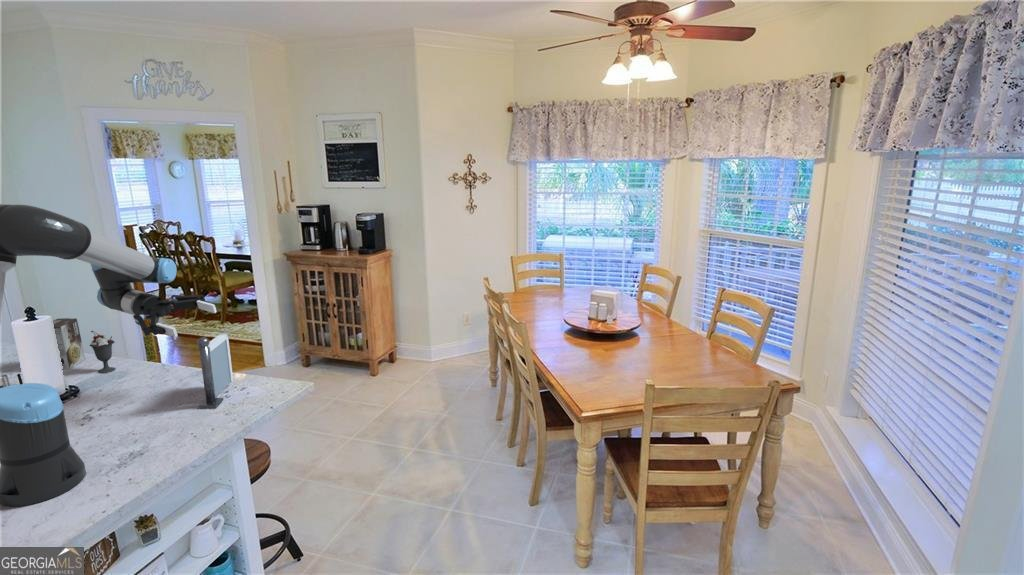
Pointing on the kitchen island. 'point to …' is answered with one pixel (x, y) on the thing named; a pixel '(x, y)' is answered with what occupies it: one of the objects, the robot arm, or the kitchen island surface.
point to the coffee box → (69, 342)
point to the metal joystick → (207, 376)
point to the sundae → (103, 351)
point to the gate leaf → (220, 362)
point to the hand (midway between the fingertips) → (195, 320)
